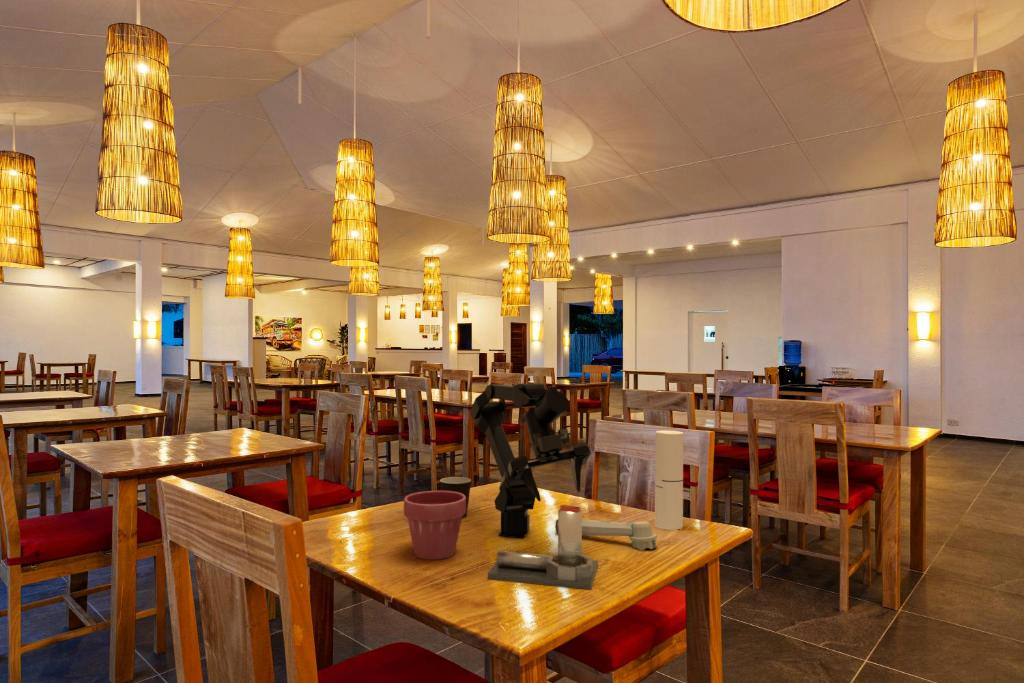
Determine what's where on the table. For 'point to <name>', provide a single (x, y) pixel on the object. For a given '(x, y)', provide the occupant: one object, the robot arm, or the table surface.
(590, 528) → the grey long bar
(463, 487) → the coffee mug
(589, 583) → the metal plate with ring
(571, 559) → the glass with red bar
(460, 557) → the table surface
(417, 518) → the plant pot
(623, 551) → the table surface
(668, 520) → the cylindrical container
